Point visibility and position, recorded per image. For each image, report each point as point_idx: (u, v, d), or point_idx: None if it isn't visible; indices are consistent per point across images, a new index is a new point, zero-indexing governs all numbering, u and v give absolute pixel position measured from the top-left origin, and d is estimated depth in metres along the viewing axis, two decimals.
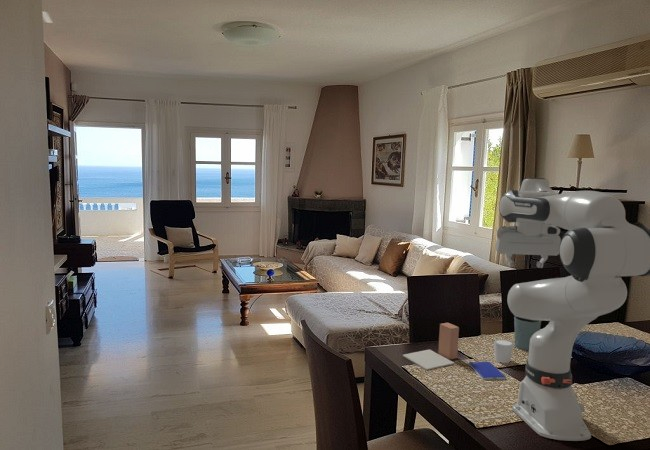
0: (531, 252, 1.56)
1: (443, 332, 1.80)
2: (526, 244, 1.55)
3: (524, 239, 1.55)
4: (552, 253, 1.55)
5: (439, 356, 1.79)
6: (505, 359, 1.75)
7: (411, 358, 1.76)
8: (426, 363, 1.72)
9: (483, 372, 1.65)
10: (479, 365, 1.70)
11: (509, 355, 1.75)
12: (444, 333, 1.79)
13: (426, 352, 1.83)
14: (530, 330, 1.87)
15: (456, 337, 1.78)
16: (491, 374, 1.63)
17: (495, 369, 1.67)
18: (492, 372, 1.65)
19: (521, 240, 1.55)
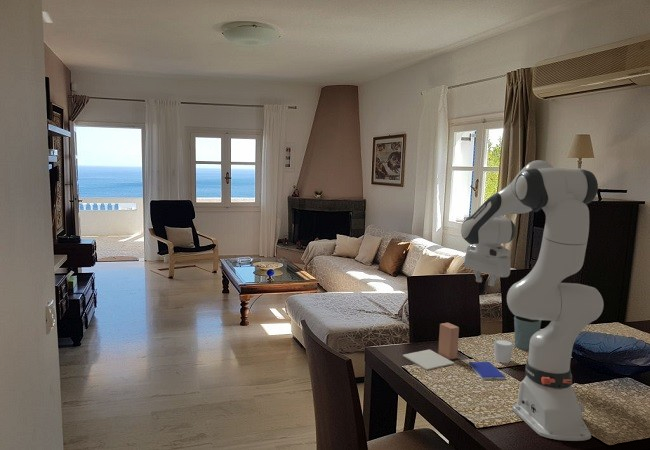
0: (484, 270, 1.81)
1: (443, 332, 1.80)
2: (480, 262, 1.82)
3: (479, 258, 1.83)
4: (497, 274, 1.75)
5: (439, 356, 1.79)
6: (505, 359, 1.75)
7: (411, 358, 1.76)
8: (426, 363, 1.72)
9: (482, 371, 1.65)
10: (479, 365, 1.70)
11: (509, 355, 1.75)
12: (444, 333, 1.79)
13: (426, 352, 1.83)
14: (530, 330, 1.87)
15: (456, 337, 1.78)
16: (491, 374, 1.63)
17: (495, 369, 1.67)
18: (491, 372, 1.65)
19: (478, 258, 1.84)
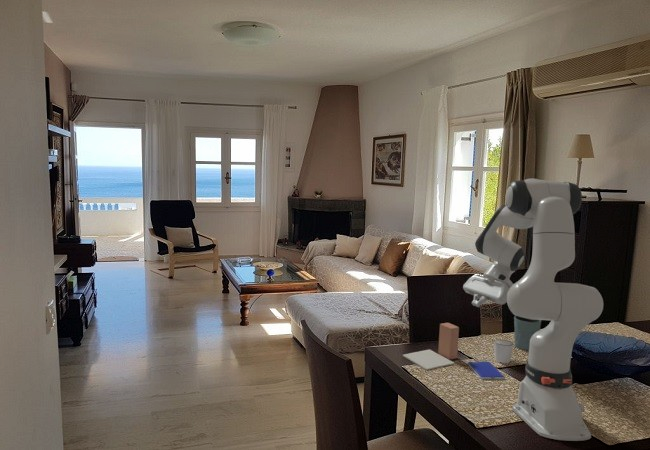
0: (482, 292, 1.84)
1: (443, 332, 1.80)
2: (482, 285, 1.87)
3: (483, 282, 1.88)
4: (495, 296, 1.78)
5: (439, 356, 1.79)
6: (505, 359, 1.75)
7: (411, 358, 1.76)
8: (426, 363, 1.72)
9: (481, 371, 1.65)
10: (478, 365, 1.70)
11: (509, 355, 1.75)
12: (444, 333, 1.79)
13: (426, 352, 1.83)
14: (530, 330, 1.87)
15: (456, 337, 1.78)
16: (490, 374, 1.63)
17: (494, 369, 1.67)
18: (490, 372, 1.65)
19: (481, 282, 1.89)
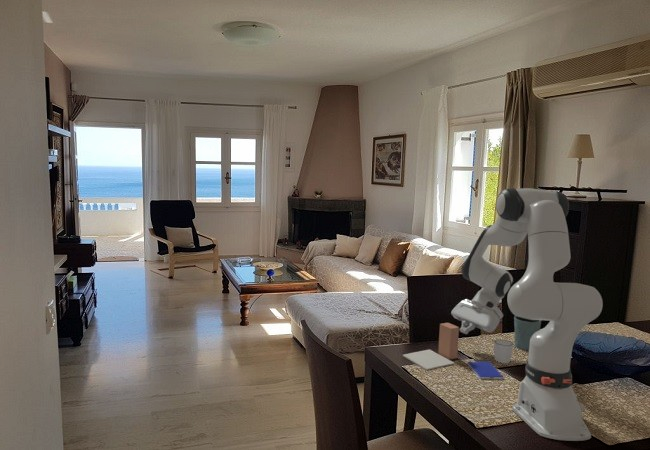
0: (470, 319, 1.83)
1: (443, 332, 1.80)
2: (470, 312, 1.85)
3: (471, 308, 1.87)
4: (483, 324, 1.77)
5: (439, 356, 1.79)
6: (505, 359, 1.75)
7: (411, 358, 1.76)
8: (426, 363, 1.72)
9: (480, 371, 1.65)
10: (478, 365, 1.70)
11: (509, 355, 1.75)
12: (444, 333, 1.79)
13: (426, 352, 1.83)
14: (530, 330, 1.87)
15: (456, 337, 1.78)
16: (489, 374, 1.63)
17: (493, 369, 1.67)
18: (489, 372, 1.65)
19: (469, 309, 1.87)
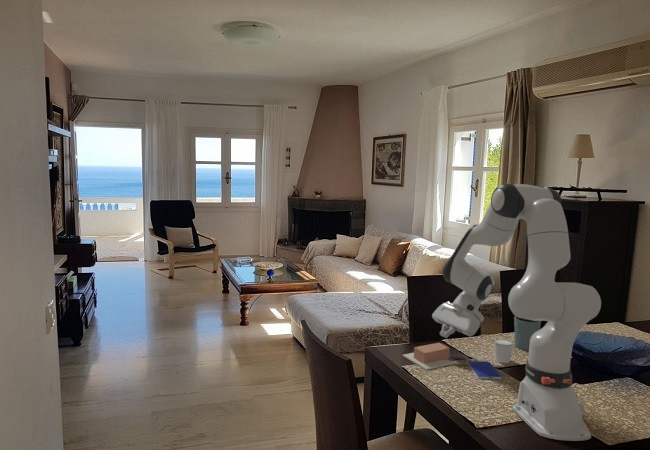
0: (450, 322, 1.78)
1: None
2: (451, 315, 1.81)
3: (452, 312, 1.82)
4: (463, 328, 1.72)
5: None
6: (505, 359, 1.75)
7: (411, 358, 1.76)
8: (426, 363, 1.72)
9: (479, 371, 1.65)
10: (477, 365, 1.71)
11: (509, 355, 1.75)
12: None
13: None
14: (530, 330, 1.87)
15: (432, 353, 1.73)
16: (487, 373, 1.63)
17: (493, 369, 1.67)
18: (488, 372, 1.65)
19: (450, 312, 1.83)
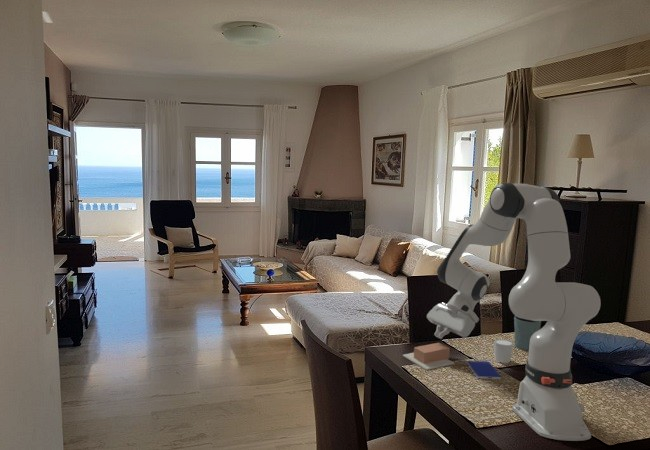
0: (445, 323, 1.77)
1: None
2: (445, 316, 1.80)
3: (447, 312, 1.81)
4: (457, 328, 1.71)
5: None
6: (505, 359, 1.75)
7: (411, 358, 1.76)
8: (426, 363, 1.72)
9: (478, 371, 1.66)
10: (477, 364, 1.71)
11: (509, 355, 1.75)
12: None
13: None
14: (530, 330, 1.87)
15: (432, 353, 1.73)
16: (487, 373, 1.64)
17: (492, 369, 1.67)
18: (488, 371, 1.65)
19: (444, 312, 1.81)
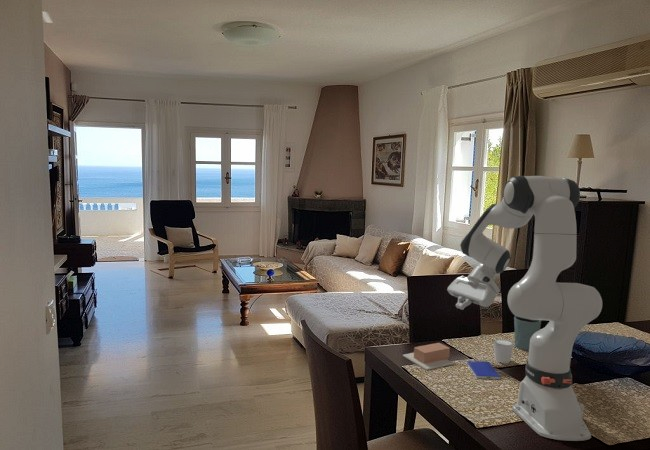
0: (466, 294, 1.81)
1: None
2: (466, 288, 1.83)
3: (467, 284, 1.84)
4: (479, 299, 1.75)
5: None
6: (505, 359, 1.75)
7: (411, 358, 1.76)
8: (426, 363, 1.72)
9: (478, 370, 1.66)
10: (476, 364, 1.71)
11: (509, 355, 1.75)
12: None
13: None
14: (530, 330, 1.87)
15: (432, 353, 1.73)
16: (486, 373, 1.64)
17: (492, 369, 1.68)
18: (487, 371, 1.65)
19: (465, 285, 1.85)
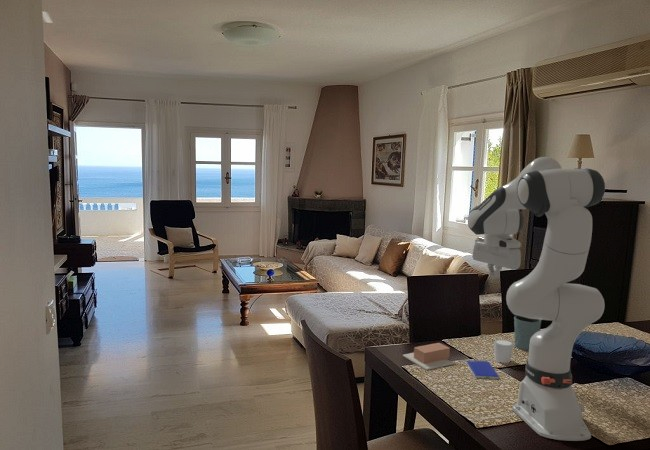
0: (493, 262, 1.76)
1: None
2: (489, 254, 1.78)
3: (488, 250, 1.78)
4: (507, 266, 1.70)
5: None
6: (505, 359, 1.75)
7: (411, 358, 1.76)
8: (426, 363, 1.72)
9: (477, 370, 1.66)
10: (476, 364, 1.71)
11: (509, 355, 1.75)
12: None
13: None
14: (530, 330, 1.87)
15: (432, 353, 1.73)
16: (485, 373, 1.64)
17: (491, 369, 1.68)
18: (486, 371, 1.65)
19: (487, 250, 1.79)
